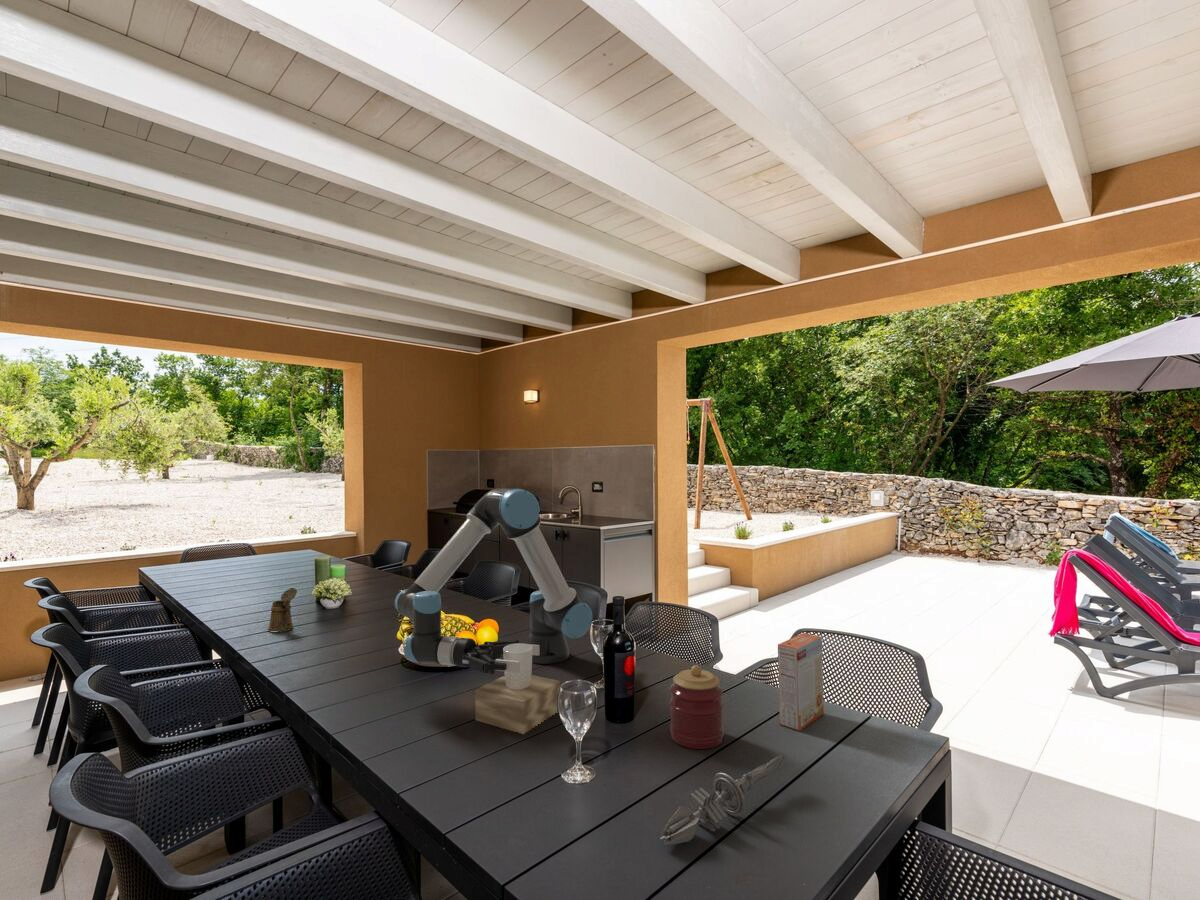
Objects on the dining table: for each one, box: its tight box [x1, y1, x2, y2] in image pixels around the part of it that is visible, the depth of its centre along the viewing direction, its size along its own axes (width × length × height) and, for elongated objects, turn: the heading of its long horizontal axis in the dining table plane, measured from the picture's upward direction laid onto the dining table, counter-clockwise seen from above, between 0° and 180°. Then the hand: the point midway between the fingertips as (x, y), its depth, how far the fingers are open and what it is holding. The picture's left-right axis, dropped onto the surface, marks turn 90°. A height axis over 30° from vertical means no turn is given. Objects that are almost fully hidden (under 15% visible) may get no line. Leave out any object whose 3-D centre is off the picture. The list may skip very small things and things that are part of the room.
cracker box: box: [777, 632, 825, 732], centre depth 155 cm, size 14×6×21 cm, turn 134°
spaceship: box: [659, 754, 787, 846], centre depth 114 cm, size 8×35×8 cm
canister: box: [669, 664, 725, 750], centre depth 146 cm, size 13×13×18 cm
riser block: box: [474, 674, 561, 735], centre depth 159 cm, size 16×16×8 cm
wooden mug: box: [267, 587, 298, 632], centre depth 240 cm, size 9×14×18 cm, turn 55°
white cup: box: [502, 642, 533, 690], centre depth 159 cm, size 8×8×10 cm
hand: (529, 658), depth 158 cm, fingers open, 13 cm apart
